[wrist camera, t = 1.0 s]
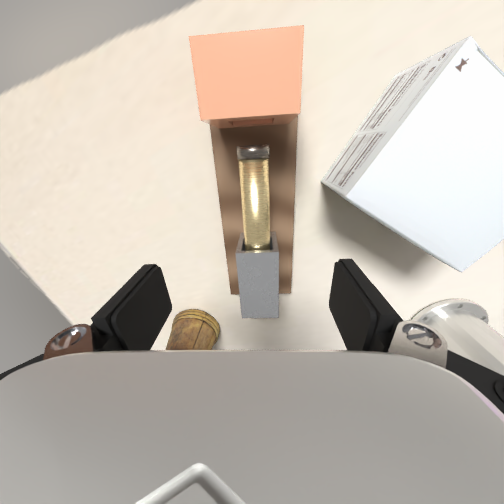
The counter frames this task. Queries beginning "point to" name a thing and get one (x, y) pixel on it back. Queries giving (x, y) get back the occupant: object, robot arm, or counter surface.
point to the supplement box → (433, 156)
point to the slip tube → (255, 195)
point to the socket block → (248, 76)
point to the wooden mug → (193, 331)
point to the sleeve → (258, 279)
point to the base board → (279, 190)
